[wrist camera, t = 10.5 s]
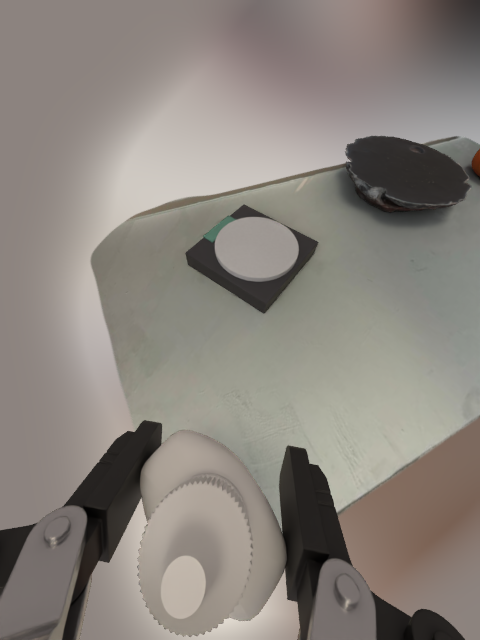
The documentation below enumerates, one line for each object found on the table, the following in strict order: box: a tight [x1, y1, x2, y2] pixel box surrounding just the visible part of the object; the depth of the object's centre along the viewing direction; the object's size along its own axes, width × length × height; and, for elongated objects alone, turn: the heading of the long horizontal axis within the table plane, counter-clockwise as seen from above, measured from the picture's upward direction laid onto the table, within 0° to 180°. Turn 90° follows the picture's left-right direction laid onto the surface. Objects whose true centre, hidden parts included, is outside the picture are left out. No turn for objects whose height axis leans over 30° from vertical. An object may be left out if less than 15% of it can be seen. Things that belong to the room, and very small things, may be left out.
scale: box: [185, 205, 318, 313], centre depth 35 cm, size 14×14×3 cm
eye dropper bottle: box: [137, 430, 287, 637], centre depth 9 cm, size 4×6×12 cm
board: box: [346, 136, 472, 212], centre depth 43 cm, size 22×22×5 cm
